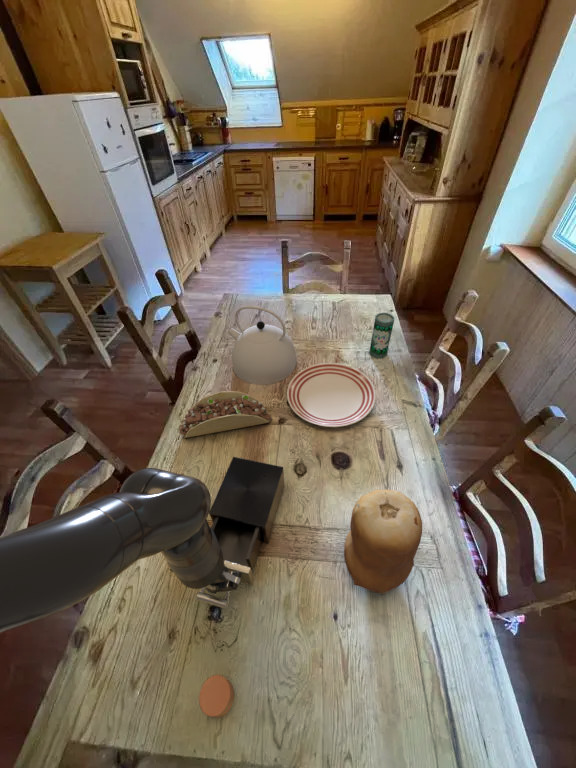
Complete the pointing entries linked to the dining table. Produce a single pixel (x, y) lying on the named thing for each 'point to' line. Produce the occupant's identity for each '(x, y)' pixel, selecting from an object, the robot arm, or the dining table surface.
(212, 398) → the taco
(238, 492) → the black rectangular box
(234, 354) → the kettle
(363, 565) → the butternut squash
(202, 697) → the copper tin
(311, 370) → the dinner plate
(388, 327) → the can
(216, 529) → the wooden drawer
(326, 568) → the dining table surface
